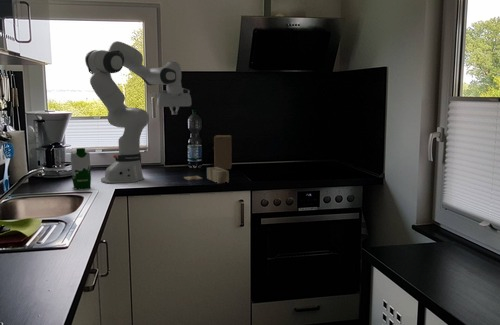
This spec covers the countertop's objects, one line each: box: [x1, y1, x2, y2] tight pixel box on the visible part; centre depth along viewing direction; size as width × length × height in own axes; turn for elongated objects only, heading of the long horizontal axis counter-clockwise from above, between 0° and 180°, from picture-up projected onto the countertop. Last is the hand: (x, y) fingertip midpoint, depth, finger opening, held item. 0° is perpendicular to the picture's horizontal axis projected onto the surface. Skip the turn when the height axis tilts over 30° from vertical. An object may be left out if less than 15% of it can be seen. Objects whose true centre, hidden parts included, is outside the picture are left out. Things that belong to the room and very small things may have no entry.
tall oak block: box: [206, 166, 230, 184], centre depth 263 cm, size 6×6×16 cm
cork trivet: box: [183, 175, 203, 181], centre depth 269 cm, size 8×8×1 cm
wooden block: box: [213, 134, 233, 170], centre depth 301 cm, size 10×10×20 cm
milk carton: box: [70, 147, 92, 190], centre depth 244 cm, size 9×9×20 cm
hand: (174, 114), depth 286 cm, fingers closed
